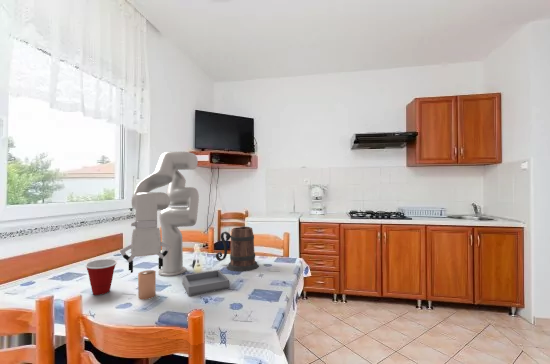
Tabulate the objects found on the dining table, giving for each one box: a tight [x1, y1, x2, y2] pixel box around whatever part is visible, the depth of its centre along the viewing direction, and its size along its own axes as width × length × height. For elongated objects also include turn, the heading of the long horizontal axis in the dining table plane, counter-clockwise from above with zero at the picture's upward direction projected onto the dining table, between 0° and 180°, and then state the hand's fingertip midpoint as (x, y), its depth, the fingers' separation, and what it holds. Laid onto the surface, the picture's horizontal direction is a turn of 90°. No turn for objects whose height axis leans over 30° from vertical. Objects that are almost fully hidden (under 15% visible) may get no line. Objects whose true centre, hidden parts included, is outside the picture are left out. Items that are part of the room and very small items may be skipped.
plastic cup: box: [84, 258, 118, 296], centre depth 109 cm, size 11×11×12 cm
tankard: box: [215, 226, 260, 273], centre depth 143 cm, size 24×17×20 cm
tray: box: [181, 269, 230, 297], centre depth 115 cm, size 16×16×4 cm
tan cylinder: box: [137, 269, 157, 300], centre depth 105 cm, size 6×6×9 cm
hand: (146, 270), depth 104 cm, fingers open, 9 cm apart
